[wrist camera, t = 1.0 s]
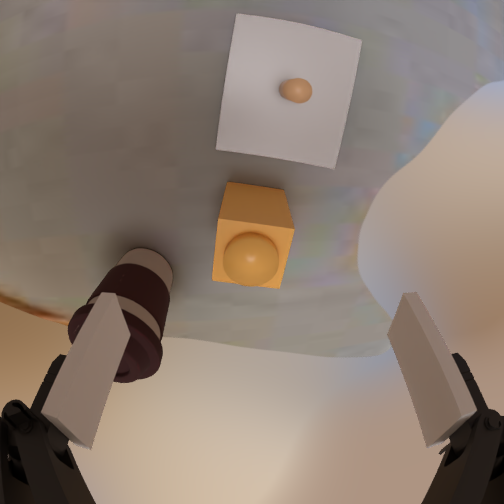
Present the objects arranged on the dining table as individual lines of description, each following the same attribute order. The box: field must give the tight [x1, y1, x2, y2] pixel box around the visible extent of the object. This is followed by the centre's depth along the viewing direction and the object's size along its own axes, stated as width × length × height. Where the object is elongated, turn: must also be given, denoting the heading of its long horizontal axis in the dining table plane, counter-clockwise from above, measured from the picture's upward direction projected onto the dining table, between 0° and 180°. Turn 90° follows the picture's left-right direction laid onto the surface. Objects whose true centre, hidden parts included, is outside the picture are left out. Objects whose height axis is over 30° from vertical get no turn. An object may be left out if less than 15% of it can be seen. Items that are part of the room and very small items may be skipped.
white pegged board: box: [216, 14, 362, 169], centre depth 22 cm, size 12×14×7 cm
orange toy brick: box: [212, 182, 295, 289], centre depth 28 cm, size 6×6×10 cm
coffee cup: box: [68, 248, 173, 383], centre depth 30 cm, size 10×10×15 cm
